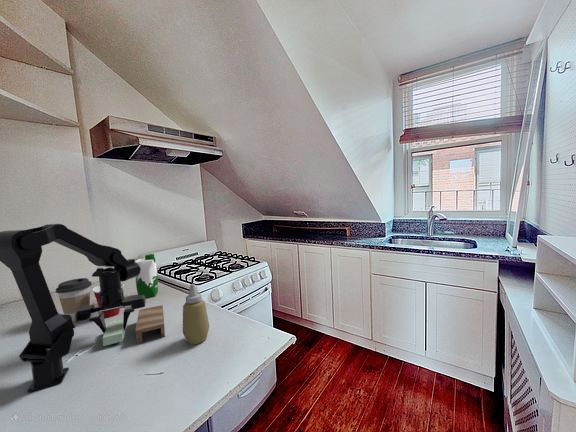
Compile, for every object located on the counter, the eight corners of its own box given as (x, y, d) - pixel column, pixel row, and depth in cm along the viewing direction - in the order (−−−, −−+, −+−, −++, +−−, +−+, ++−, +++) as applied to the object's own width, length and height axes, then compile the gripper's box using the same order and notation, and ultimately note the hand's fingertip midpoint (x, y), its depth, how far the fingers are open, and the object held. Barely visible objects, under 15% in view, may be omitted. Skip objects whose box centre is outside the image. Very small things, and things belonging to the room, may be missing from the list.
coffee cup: (100, 314, 105) (96, 279, 104) (64, 327, 96) (60, 288, 95) (89, 309, 111) (85, 276, 110) (55, 320, 102) (50, 284, 101)
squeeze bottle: (181, 349, 76) (176, 290, 75) (185, 336, 84) (180, 282, 83) (210, 344, 78) (205, 286, 77) (210, 331, 86) (206, 278, 85)
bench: (165, 336, 84) (163, 323, 84) (137, 344, 80) (135, 330, 80) (163, 316, 100) (162, 304, 100) (140, 321, 96) (139, 310, 96)
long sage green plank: (122, 341, 81) (121, 333, 81) (103, 346, 79) (102, 337, 79) (126, 325, 92) (125, 318, 91) (109, 329, 89) (108, 322, 89)
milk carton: (156, 297, 122) (153, 255, 121) (135, 300, 119) (131, 258, 118) (160, 291, 130) (156, 252, 129) (140, 294, 127) (136, 254, 126)
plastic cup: (110, 321, 98) (107, 291, 97) (87, 320, 100) (84, 290, 100) (133, 309, 109) (130, 281, 108) (112, 308, 111) (109, 281, 110)
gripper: (144, 275, 96) (148, 315, 96) (81, 285, 87) (86, 329, 88) (142, 283, 86) (147, 328, 87) (72, 295, 77) (77, 345, 78)
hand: (115, 332), depth 85 cm, fingers closed on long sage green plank, 5 cm apart
